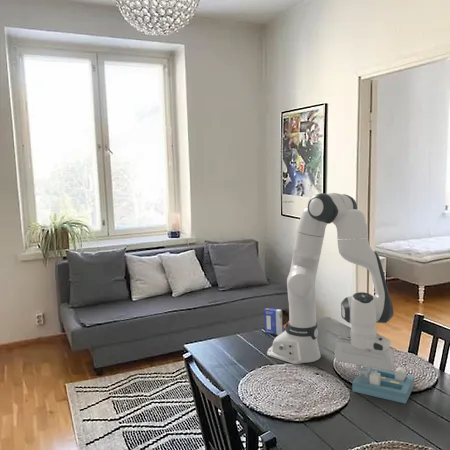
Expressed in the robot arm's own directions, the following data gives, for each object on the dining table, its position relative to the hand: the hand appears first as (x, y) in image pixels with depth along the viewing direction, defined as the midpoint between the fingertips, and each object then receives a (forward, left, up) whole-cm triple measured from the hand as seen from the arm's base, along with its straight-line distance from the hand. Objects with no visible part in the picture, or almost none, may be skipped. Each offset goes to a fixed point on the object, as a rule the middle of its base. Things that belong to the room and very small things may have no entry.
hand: (363, 376), depth 164 cm
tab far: (+11, +7, -3) cm, 13 cm away
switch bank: (+6, +3, -5) cm, 8 cm away
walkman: (-53, +34, -5) cm, 63 cm away
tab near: (+4, 0, -3) cm, 5 cm away
